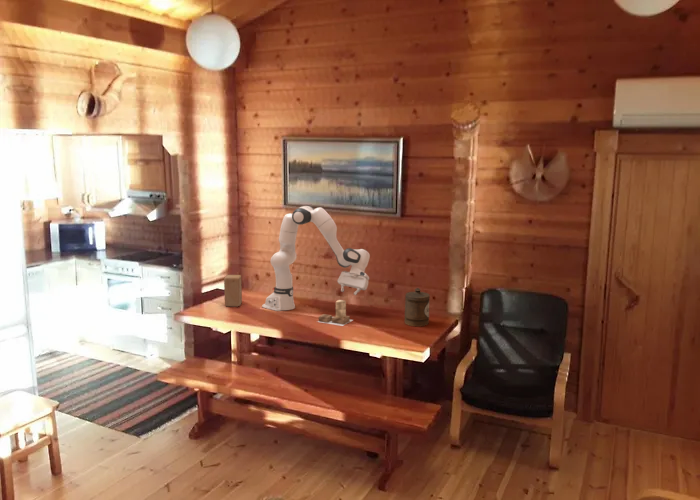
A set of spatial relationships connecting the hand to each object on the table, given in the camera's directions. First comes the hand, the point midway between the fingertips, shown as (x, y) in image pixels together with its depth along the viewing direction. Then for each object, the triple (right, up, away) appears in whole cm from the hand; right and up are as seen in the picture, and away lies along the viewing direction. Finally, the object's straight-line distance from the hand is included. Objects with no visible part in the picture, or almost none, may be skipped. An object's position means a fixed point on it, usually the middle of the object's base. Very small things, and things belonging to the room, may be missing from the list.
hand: (348, 293), depth 373 cm
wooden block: (-78, -10, +30) cm, 84 cm away
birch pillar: (-5, -14, -11) cm, 18 cm away
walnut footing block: (-14, -16, -8) cm, 23 cm away
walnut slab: (-5, -17, -10) cm, 20 cm away
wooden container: (+42, -18, -8) cm, 46 cm away
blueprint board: (-8, -18, -8) cm, 21 cm away
